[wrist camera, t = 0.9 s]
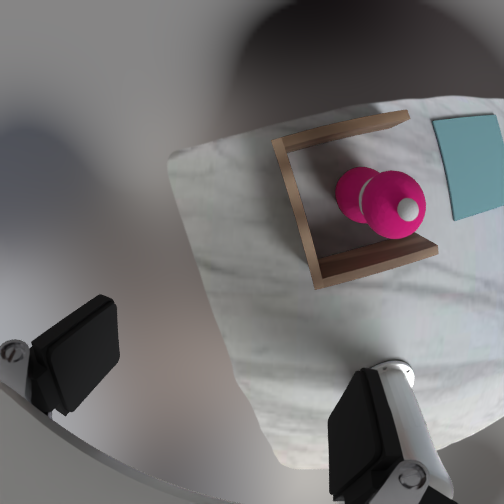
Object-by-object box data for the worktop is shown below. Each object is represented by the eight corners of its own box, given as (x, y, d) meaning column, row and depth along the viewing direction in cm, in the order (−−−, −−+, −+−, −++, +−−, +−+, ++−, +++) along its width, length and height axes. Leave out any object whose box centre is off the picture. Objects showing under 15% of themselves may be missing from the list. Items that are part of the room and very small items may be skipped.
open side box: (415, 239, 36) (438, 254, 29) (311, 268, 40) (314, 290, 33) (386, 120, 32) (407, 109, 25) (275, 147, 36) (270, 140, 29)
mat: (511, 201, 31) (513, 202, 30) (453, 220, 34) (455, 220, 34) (494, 115, 27) (495, 114, 27) (431, 121, 31) (433, 120, 30)
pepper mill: (323, 204, 38) (351, 234, 18) (343, 159, 35) (390, 144, 16) (367, 225, 37) (426, 272, 18) (386, 181, 35) (461, 191, 16)
